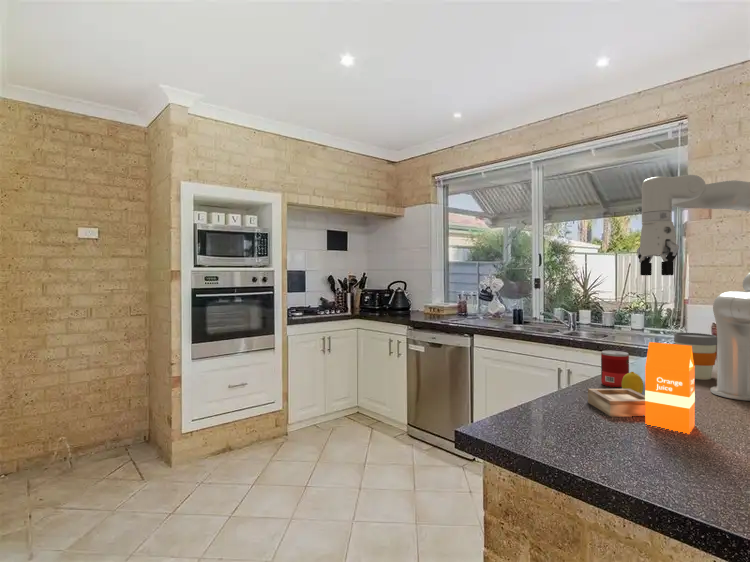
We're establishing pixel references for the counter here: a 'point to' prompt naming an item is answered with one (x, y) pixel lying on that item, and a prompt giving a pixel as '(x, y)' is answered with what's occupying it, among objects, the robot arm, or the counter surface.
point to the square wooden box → (617, 401)
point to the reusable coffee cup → (700, 351)
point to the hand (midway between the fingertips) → (656, 275)
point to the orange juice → (670, 387)
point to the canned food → (614, 367)
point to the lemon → (632, 382)
